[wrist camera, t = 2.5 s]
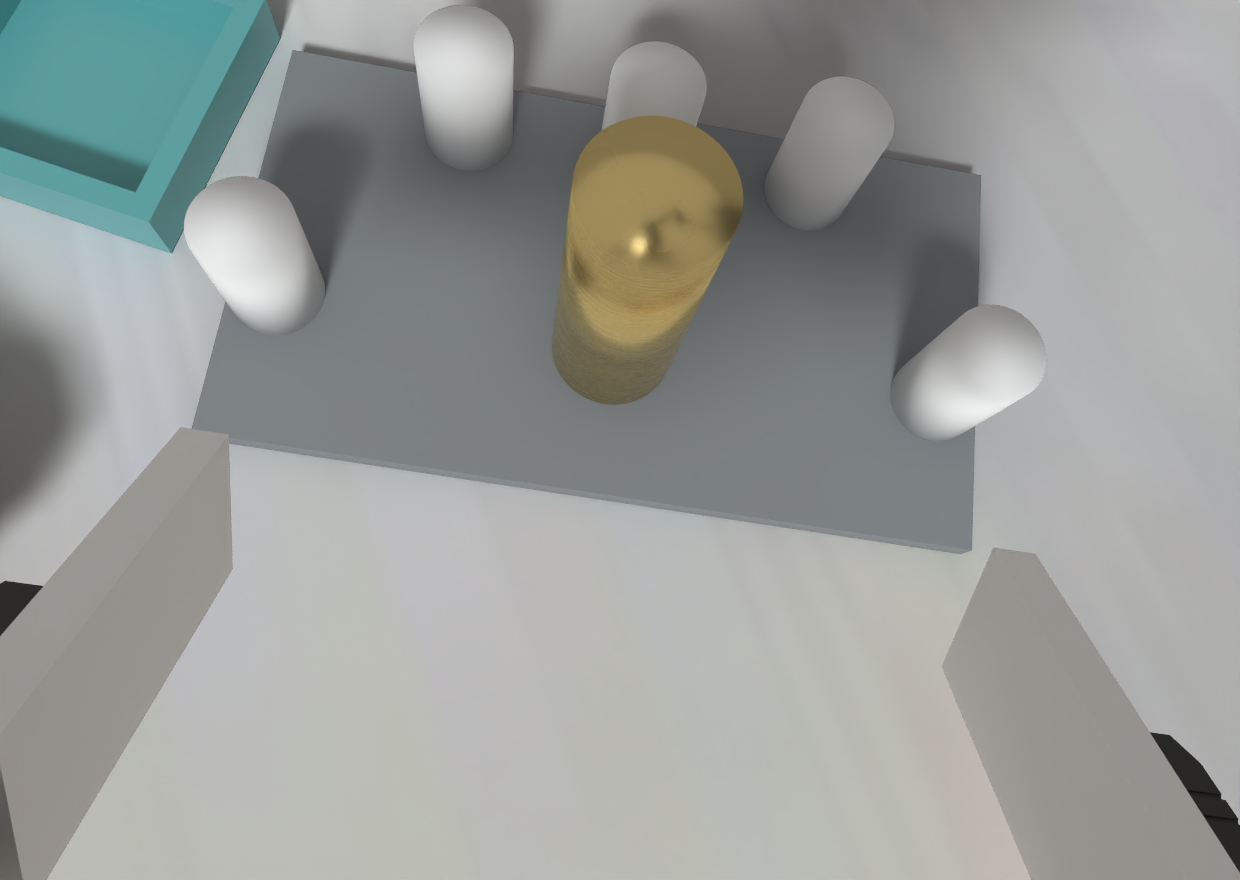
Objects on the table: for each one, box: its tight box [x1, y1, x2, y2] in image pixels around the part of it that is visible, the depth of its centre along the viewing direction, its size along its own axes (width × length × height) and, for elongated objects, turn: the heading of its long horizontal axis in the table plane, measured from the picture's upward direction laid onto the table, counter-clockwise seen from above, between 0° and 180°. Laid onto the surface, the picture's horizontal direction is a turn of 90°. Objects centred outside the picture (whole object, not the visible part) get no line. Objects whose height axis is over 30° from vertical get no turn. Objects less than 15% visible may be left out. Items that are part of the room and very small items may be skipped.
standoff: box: [552, 116, 743, 405], centre depth 27 cm, size 4×4×10 cm
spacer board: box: [184, 5, 1047, 554], centre depth 31 cm, size 25×14×5 cm, turn 82°
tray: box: [0, 0, 280, 253], centre depth 32 cm, size 9×9×2 cm
